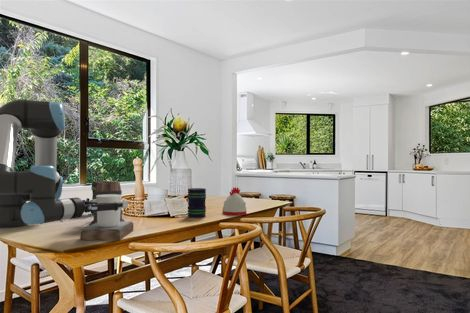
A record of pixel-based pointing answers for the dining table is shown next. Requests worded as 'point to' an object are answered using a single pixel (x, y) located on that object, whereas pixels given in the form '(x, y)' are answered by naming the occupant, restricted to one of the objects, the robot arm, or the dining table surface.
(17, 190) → the robot arm
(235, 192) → the pom-pom beanie
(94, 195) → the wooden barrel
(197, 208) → the storage jar
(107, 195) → the candle holder
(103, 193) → the tankard
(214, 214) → the dining table surface
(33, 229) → the dining table surface
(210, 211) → the dining table surface
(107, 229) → the dock
